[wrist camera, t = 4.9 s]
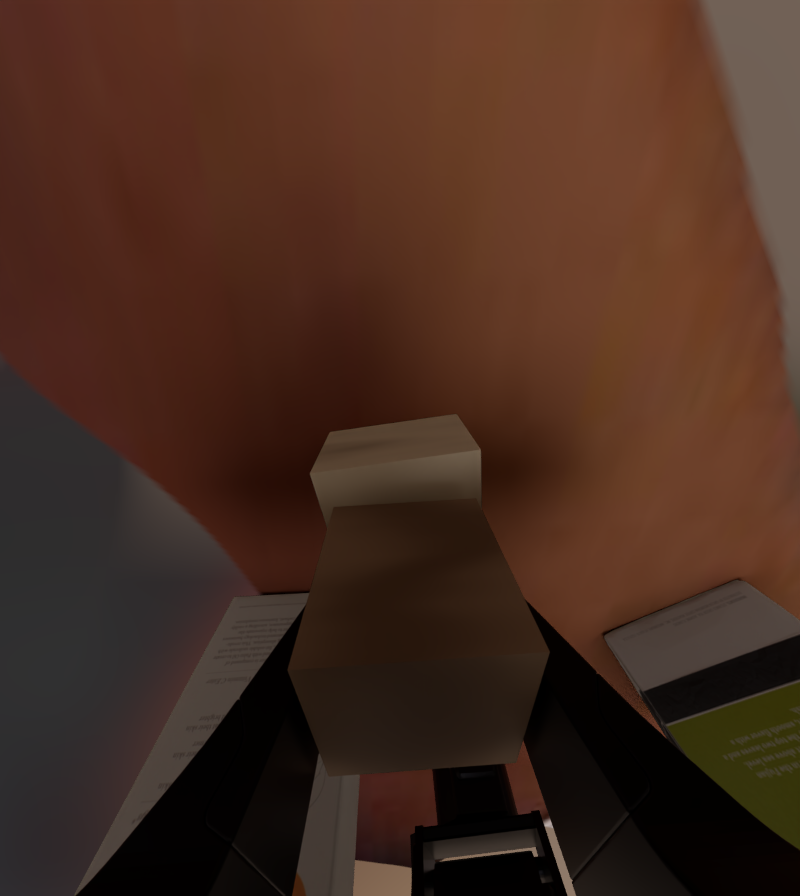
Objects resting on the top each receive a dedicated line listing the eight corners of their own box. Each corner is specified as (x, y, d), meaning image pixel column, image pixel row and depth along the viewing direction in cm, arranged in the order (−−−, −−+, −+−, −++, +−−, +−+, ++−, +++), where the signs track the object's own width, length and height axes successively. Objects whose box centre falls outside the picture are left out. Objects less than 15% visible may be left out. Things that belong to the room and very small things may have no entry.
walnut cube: (476, 498, 9) (549, 652, 5) (468, 594, 11) (515, 762, 7) (333, 507, 9) (287, 669, 5) (350, 602, 11) (328, 777, 7)
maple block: (461, 513, 16) (482, 571, 12) (356, 527, 16) (346, 589, 12) (455, 412, 13) (481, 449, 10) (330, 430, 14) (309, 473, 10)
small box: (256, 652, 20) (80, 1111, 9) (232, 593, 18) (-72, 1143, 6) (369, 647, 21) (344, 1087, 9) (362, 587, 18) (314, 1107, 6)
